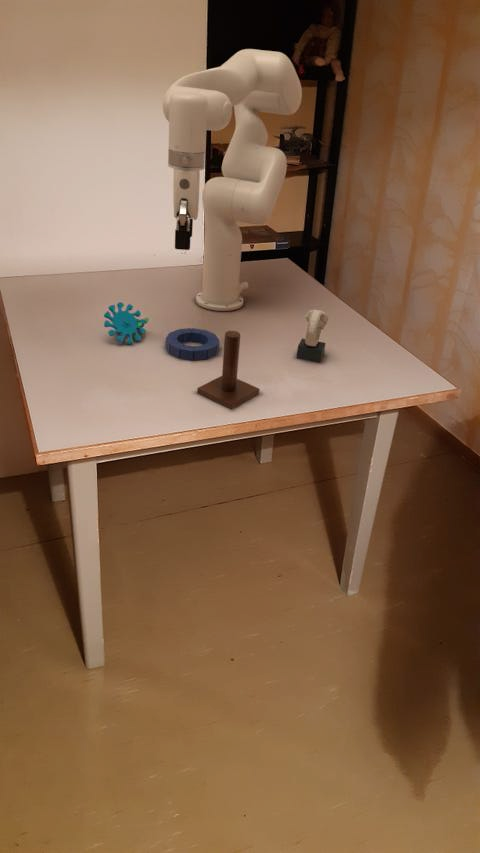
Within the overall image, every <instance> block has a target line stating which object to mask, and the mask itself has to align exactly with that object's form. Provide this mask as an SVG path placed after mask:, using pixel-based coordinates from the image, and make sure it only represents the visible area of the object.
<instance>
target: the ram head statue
mask: <svg viewBox="0 0 480 853" xmlns="http://www.w3.org/2000/svg"><path fill="white" fill-rule="evenodd" d="M304 319H305V320H306V322H307V327H306V332H305V338H301V340H300V341H299V343H298V345H297V350H296V359H299V360H304V361H308V362H309V361H310V362H312V363H313V362H314V363H320V364H321V362H322V360H323V357H324V356H325V351H326V350H325V349H326V343H327V342H323V341H320V338H321V333H322V331H324V328H325V327H326V325H327V324H328V322H329V316H328V314H327V313H326V312H324V311H323V310H320V309H311V310H309V311H307V314H305V315H304Z"/></svg>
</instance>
